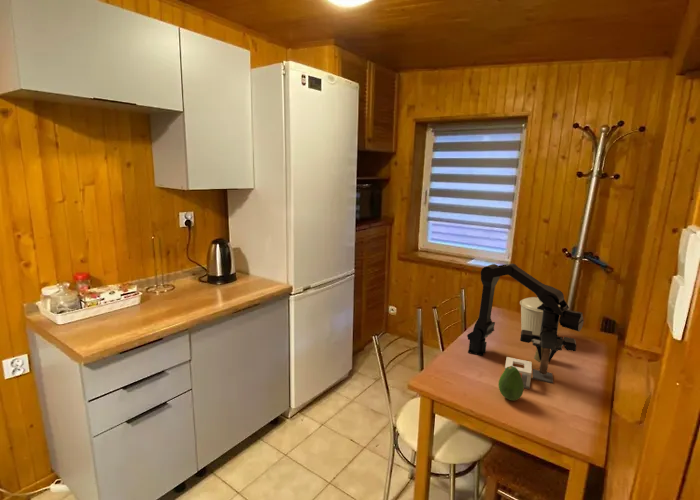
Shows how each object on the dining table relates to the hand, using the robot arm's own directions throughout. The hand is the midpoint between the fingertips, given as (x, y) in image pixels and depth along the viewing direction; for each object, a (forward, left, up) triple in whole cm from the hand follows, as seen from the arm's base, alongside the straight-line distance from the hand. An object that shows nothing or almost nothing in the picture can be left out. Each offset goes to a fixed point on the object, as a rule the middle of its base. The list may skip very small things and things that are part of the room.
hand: (544, 360), depth 150 cm
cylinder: (0, 0, -5) cm, 5 cm away
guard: (-9, -7, -7) cm, 13 cm away
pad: (0, 0, -7) cm, 7 cm away
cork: (0, +15, -7) cm, 17 cm away
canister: (-2, +37, -7) cm, 38 cm away
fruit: (-11, -21, -7) cm, 25 cm away
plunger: (-9, -7, -6) cm, 13 cm away
